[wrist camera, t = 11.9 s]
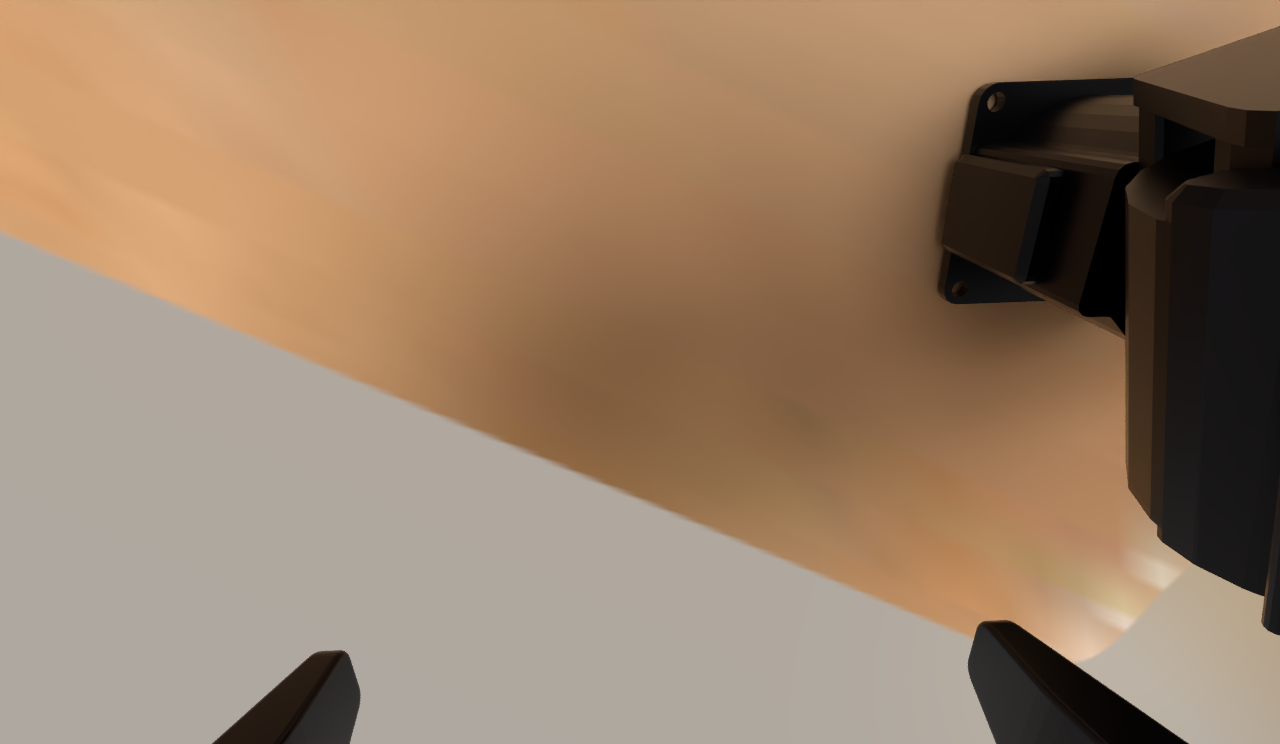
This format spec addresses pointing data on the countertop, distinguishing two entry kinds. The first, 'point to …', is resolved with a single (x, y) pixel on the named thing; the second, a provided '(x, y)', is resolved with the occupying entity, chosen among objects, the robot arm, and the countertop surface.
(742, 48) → the countertop surface
